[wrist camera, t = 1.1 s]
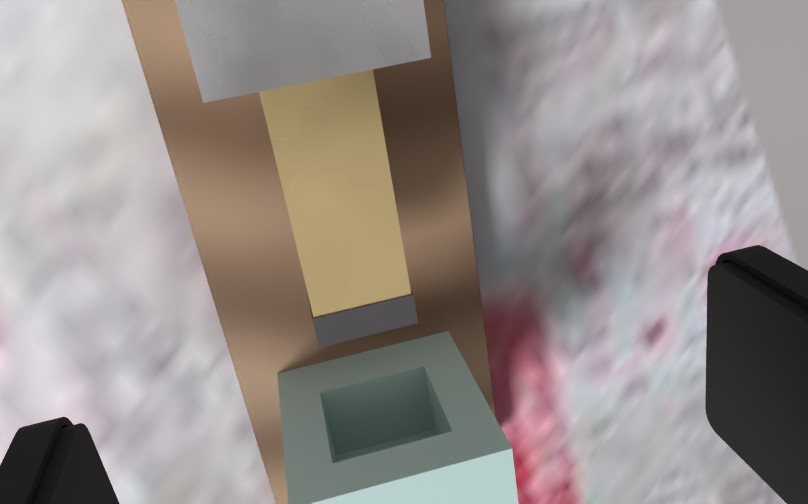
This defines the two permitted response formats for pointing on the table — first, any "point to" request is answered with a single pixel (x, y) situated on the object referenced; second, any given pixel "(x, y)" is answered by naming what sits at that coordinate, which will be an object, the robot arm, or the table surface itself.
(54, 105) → the table surface
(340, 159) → the brass inner tube
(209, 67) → the steel sleeve
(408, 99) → the walnut base board
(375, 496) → the sage socket block
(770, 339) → the robot arm
